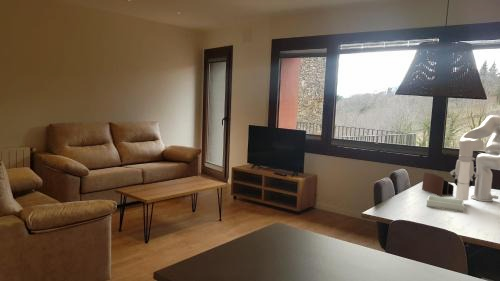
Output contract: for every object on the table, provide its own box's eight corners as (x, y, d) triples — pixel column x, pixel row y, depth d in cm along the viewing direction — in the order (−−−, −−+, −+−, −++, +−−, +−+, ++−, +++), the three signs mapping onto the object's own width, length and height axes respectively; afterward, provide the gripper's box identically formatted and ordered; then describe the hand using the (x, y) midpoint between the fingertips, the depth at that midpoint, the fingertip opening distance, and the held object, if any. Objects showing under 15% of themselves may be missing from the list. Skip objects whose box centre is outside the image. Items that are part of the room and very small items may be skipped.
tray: (462, 206, 238) (463, 200, 238) (463, 211, 226) (463, 205, 225) (427, 201, 247) (428, 195, 247) (426, 206, 235) (427, 200, 235)
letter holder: (441, 196, 262) (443, 176, 260) (421, 189, 281) (423, 171, 279) (453, 196, 264) (455, 176, 262) (432, 189, 283) (434, 171, 281)
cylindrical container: (467, 198, 247) (471, 160, 243) (468, 200, 240) (472, 162, 237) (455, 196, 250) (458, 159, 246) (456, 199, 243) (459, 161, 240)
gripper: (480, 159, 241) (478, 186, 243) (450, 156, 249) (447, 182, 251) (481, 161, 234) (479, 188, 236) (450, 158, 242) (447, 185, 245)
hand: (463, 185), depth 244 cm, fingers closed on cylindrical container, 7 cm apart
